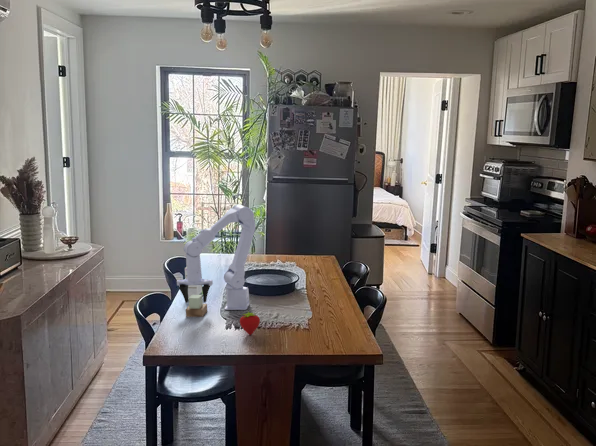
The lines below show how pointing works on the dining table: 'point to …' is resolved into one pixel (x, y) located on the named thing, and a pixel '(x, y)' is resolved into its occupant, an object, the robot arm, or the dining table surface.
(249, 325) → the strawberry
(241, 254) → the robot arm
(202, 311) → the block
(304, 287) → the dining table surface
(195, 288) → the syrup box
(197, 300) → the green cube
